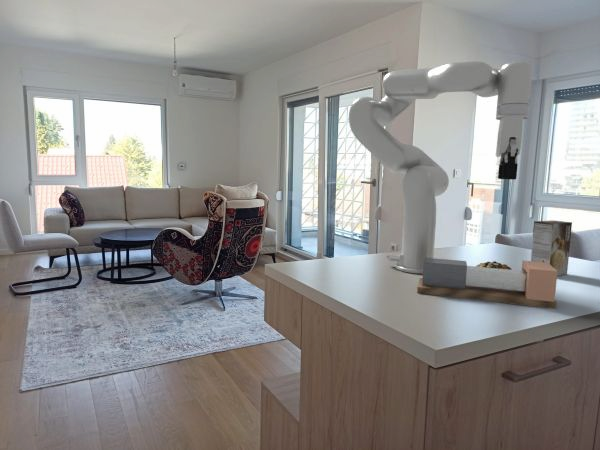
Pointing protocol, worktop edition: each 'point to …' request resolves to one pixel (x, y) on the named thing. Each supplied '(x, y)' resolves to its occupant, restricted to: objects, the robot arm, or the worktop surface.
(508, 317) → the worktop surface
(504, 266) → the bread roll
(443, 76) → the robot arm
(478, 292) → the base board
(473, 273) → the light grey bar
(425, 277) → the sleeve
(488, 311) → the worktop surface
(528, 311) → the worktop surface
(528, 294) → the socket block
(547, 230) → the coffee box
